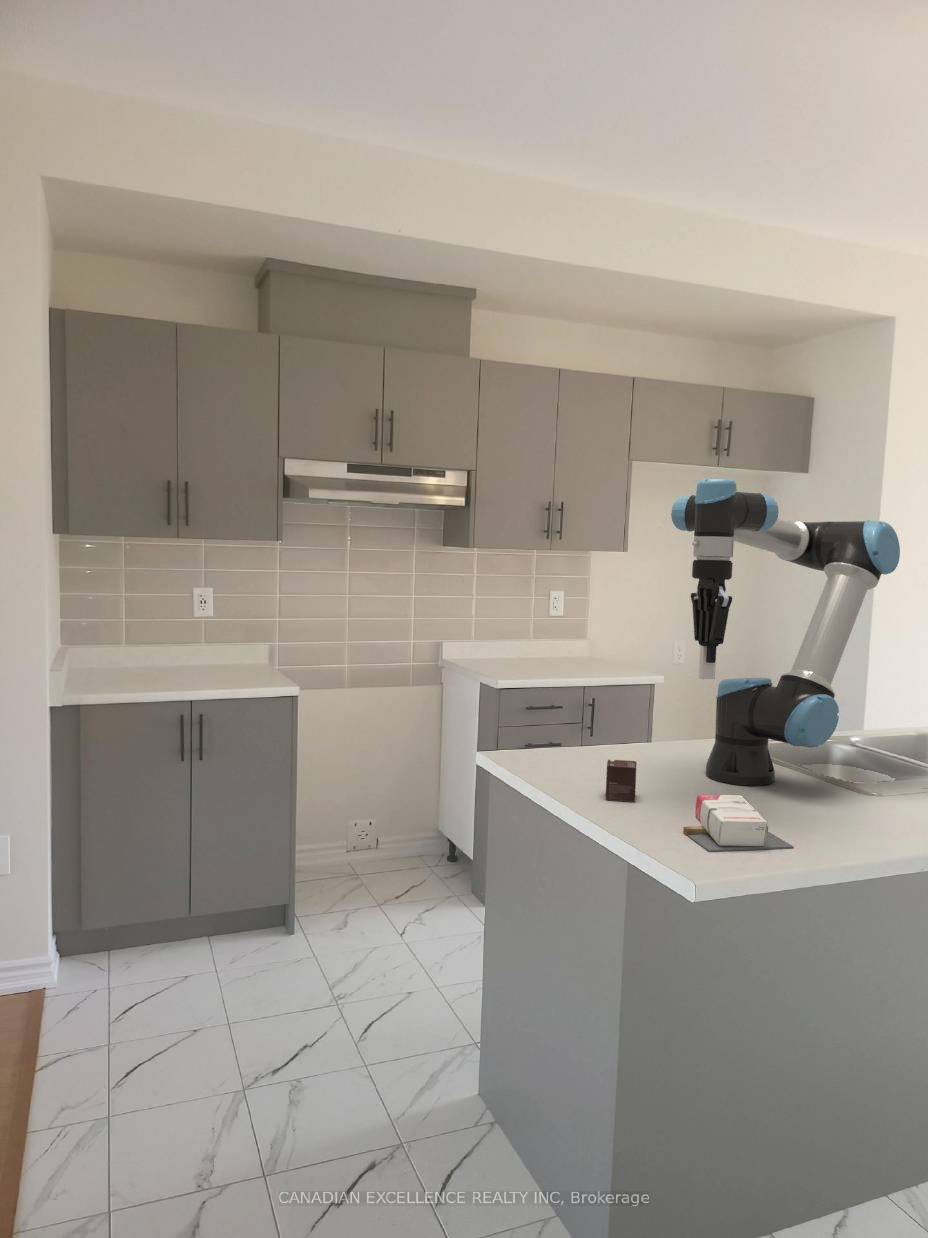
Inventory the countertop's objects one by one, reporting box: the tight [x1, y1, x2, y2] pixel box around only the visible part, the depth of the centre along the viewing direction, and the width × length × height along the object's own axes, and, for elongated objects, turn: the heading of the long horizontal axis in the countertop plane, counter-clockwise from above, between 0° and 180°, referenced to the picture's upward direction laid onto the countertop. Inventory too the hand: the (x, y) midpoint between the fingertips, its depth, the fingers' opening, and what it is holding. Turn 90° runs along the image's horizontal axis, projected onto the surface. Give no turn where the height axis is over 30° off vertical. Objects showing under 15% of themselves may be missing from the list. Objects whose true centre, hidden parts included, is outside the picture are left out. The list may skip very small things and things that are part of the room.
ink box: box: [694, 794, 768, 846], centre depth 156 cm, size 9×5×12 cm
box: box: [605, 759, 637, 803], centre depth 180 cm, size 6×6×7 cm
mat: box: [687, 831, 795, 853], centre depth 154 cm, size 16×8×1 cm, turn 101°
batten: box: [682, 825, 769, 837], centre depth 159 cm, size 16×2×1 cm, turn 101°
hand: (706, 678), depth 171 cm, fingers closed
